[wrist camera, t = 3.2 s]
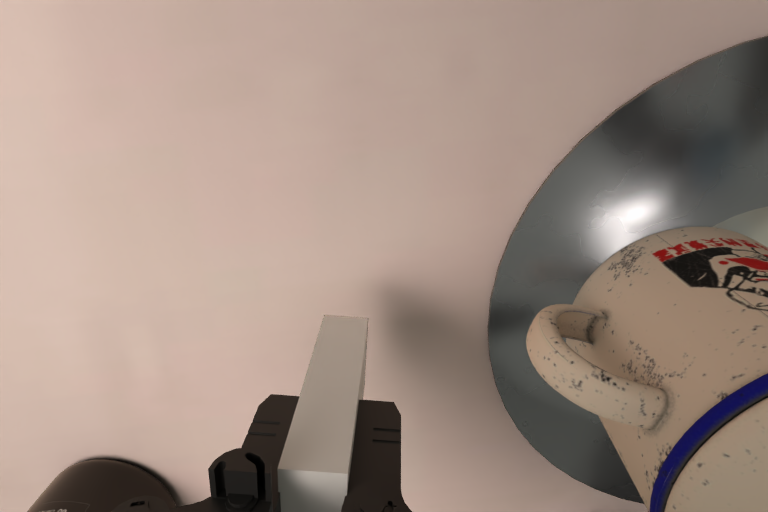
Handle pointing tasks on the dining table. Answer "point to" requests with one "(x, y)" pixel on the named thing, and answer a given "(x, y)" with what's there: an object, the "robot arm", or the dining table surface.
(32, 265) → the dining table surface
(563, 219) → the turntable platter
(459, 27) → the dining table surface
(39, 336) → the dining table surface
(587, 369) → the teacup with lid
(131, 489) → the supplement bottle
